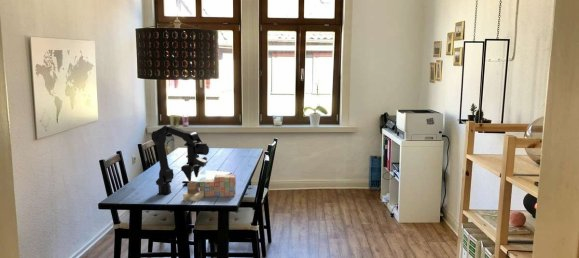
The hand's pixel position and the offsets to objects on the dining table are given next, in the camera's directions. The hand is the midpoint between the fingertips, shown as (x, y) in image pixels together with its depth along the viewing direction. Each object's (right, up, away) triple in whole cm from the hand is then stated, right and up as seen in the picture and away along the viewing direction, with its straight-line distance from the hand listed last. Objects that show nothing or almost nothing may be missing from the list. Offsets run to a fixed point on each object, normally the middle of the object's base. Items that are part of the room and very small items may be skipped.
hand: (193, 179), depth 269 cm
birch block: (0, -12, +2) cm, 12 cm away
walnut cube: (0, -8, +1) cm, 8 cm away
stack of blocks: (+13, -11, +9) cm, 19 cm away
